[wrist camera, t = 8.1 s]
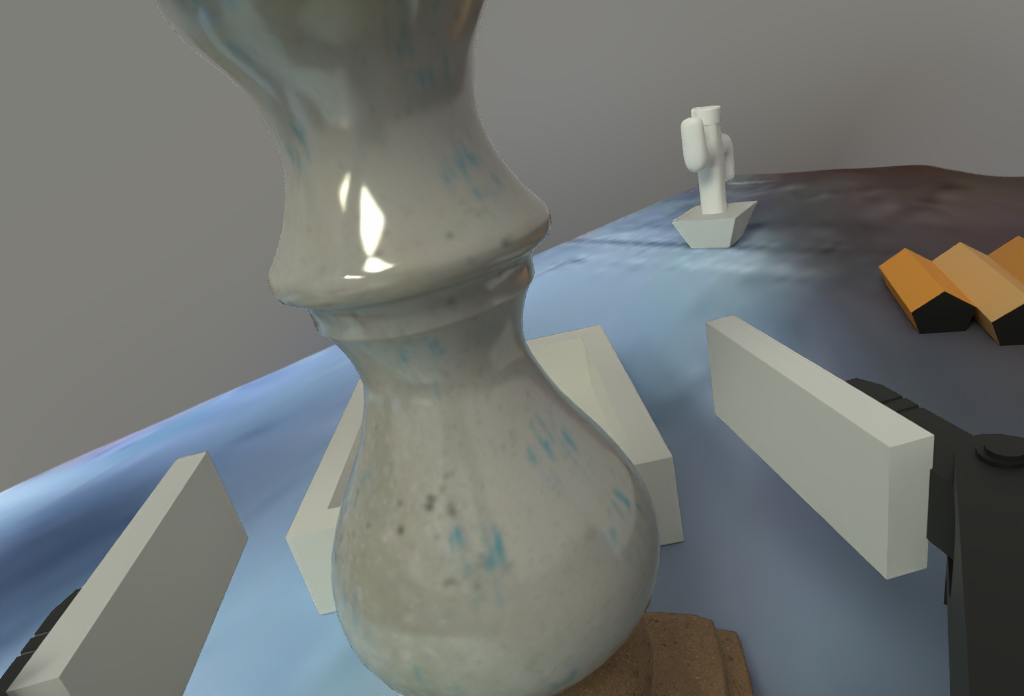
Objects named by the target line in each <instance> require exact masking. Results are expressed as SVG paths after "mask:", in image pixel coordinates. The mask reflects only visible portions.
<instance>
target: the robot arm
mask: <svg viewBox="0 0 1024 696" xmlns="http://www.w3.org/2000/svg"><path fill="white" fill-rule="evenodd" d="M706 331H707V341H708V351H709V361H710V371H711V380H712V390H713V400H714V410H715V414H716V415H717V416H718V417H719V418H720V419H721V420H722V421H723V422H725V423H726V424H727V425H728V426H729V427H730V428H731V429H732V430H733V431H734V432H735V433H736V434H737V435H738V436H739V437H740V438H741V439H742V440H743V441H744V442H745V443H746V444H747V445H748V446H749V447H750V448H751V449H752V450H753V451H754V452H755V453H756V454H758V455H759V456H760V457H761V458H762V459H763V460H764V461H765V462H766V463H767V464H768V465H769V466H770V467H771V468H772V469H773V470H774V471H775V472H776V473H777V474H778V475H779V476H780V477H781V478H782V479H783V480H784V481H785V482H786V483H787V484H788V485H790V486H791V487H792V488H793V489H794V490H795V491H796V492H797V493H798V494H799V495H800V496H801V497H802V498H803V499H804V500H805V501H806V502H807V503H808V504H809V505H810V506H811V507H812V508H813V509H814V510H815V511H816V512H817V513H818V514H819V515H820V516H822V517H823V518H824V519H825V520H826V521H827V522H828V523H829V524H830V525H831V526H832V527H833V528H834V529H835V530H836V531H837V532H838V533H839V534H840V535H841V536H842V537H843V538H844V539H845V540H846V541H847V542H848V543H849V544H850V545H851V546H852V547H854V548H855V549H856V550H857V551H858V552H859V553H860V554H861V555H862V556H863V557H864V558H865V559H866V560H867V561H868V562H869V563H870V564H871V565H872V566H873V567H874V568H875V569H876V570H877V571H878V572H879V573H880V574H881V575H882V576H883V577H884V578H885V579H891V578H894V577H898V576H901V575H905V574H908V573H911V572H915V571H918V570H922V569H925V568H927V558H928V540H929V541H930V542H932V543H933V544H934V545H935V546H937V547H938V548H939V549H940V550H942V551H943V552H944V553H945V554H946V555H947V567H946V581H945V595H944V604H945V605H947V609H948V638H949V667H950V696H1024V438H1021V437H1015V436H1009V435H1003V434H980V435H975V436H973V435H971V434H969V433H967V432H965V431H964V430H962V429H960V428H958V427H956V426H955V425H953V424H951V423H949V422H948V421H946V420H944V419H942V418H940V417H939V416H937V415H935V414H933V413H931V412H930V411H928V410H926V409H924V408H919V407H918V405H917V404H915V403H913V402H912V401H910V400H908V399H906V398H905V399H903V398H902V396H901V395H899V394H897V393H896V392H894V391H892V390H890V389H888V388H887V387H885V386H883V385H880V384H876V383H873V382H869V381H865V380H862V379H858V378H855V379H851V380H848V381H843V380H841V379H840V378H838V377H836V376H835V375H833V374H831V373H830V372H828V371H826V370H825V369H823V368H821V367H820V366H818V365H816V364H815V363H813V362H811V361H810V360H808V359H806V358H805V357H803V356H801V355H800V354H798V353H796V352H794V351H793V350H791V349H789V348H788V347H786V346H784V345H783V344H781V343H779V342H778V341H776V340H774V339H773V338H771V337H769V336H768V335H766V334H764V333H763V332H761V331H759V330H758V329H756V328H754V327H753V326H751V325H749V324H748V323H746V322H744V321H743V320H741V319H739V318H738V317H736V316H734V315H731V316H727V317H723V318H719V319H715V320H711V321H708V322H706ZM247 540H248V536H247V534H246V532H245V530H244V528H243V526H242V524H241V522H240V519H239V517H238V515H237V513H236V511H235V509H234V507H233V505H232V502H231V500H230V498H229V496H228V494H227V492H226V490H225V488H224V485H223V483H222V481H221V479H220V477H219V475H218V473H217V471H216V468H215V466H214V464H213V462H212V460H211V458H210V456H209V454H208V451H205V452H202V453H198V454H194V455H190V456H186V457H182V458H178V459H176V461H175V462H174V463H173V465H172V466H171V467H170V469H169V470H168V471H167V473H166V474H165V476H164V477H163V478H162V480H161V481H160V482H159V484H158V485H157V486H156V488H155V489H154V491H153V492H152V493H151V495H150V496H149V497H148V499H147V500H146V501H145V503H144V504H143V506H142V507H141V508H140V510H139V511H138V512H137V514H136V515H135V516H134V518H133V519H132V521H131V522H130V523H129V525H128V526H127V527H126V529H125V530H124V531H123V533H122V534H121V536H120V537H119V538H118V540H117V541H116V542H115V544H114V545H113V546H112V548H111V549H110V551H109V552H108V553H107V555H106V556H105V557H104V559H103V560H102V561H101V563H100V564H99V566H98V567H97V568H96V570H95V571H94V572H93V574H92V575H91V576H90V578H89V579H88V581H87V582H86V583H85V585H84V586H83V587H82V588H80V589H77V590H75V591H74V592H73V593H72V594H71V595H70V596H69V597H68V598H66V599H65V600H64V601H63V602H62V603H61V604H60V605H58V606H57V607H56V608H55V609H54V610H53V611H52V612H51V613H50V614H49V616H48V617H47V618H46V620H45V621H44V622H43V624H42V625H41V626H40V627H39V629H38V630H37V631H36V633H35V637H34V638H31V639H30V641H29V642H28V643H27V645H26V646H25V647H24V648H23V650H22V651H21V656H19V657H17V658H16V659H15V660H14V662H13V663H12V664H11V666H10V667H9V668H8V670H7V671H6V672H5V673H4V675H3V676H2V677H1V679H0V696H183V693H184V691H185V689H186V686H187V684H188V682H189V679H190V677H191V674H192V672H193V670H194V667H195V665H196V662H197V660H198V658H199V655H200V653H201V650H202V648H203V646H204V643H205V641H206V638H207V636H208V634H209V631H210V629H211V626H212V624H213V622H214V619H215V617H216V614H217V612H218V610H219V607H220V605H221V603H222V600H223V598H224V595H225V593H226V591H227V588H228V586H229V583H230V581H231V579H232V576H233V574H234V571H235V569H236V567H237V564H238V562H239V559H240V557H241V555H242V552H243V550H244V547H245V545H246V543H247Z"/></svg>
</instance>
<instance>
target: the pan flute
mask: <svg viewBox="0 0 1024 696" xmlns="http://www.w3.org/2000/svg"><path fill="white" fill-rule="evenodd" d="M879 268H880V271H881V274H882V276H883V279H884V281H885V284H886V286H887V287H888V289H889V290H890V291H891V293H892V294H893V296H894V297H895V299H896V300H897V302H898V303H899V305H900V306H901V308H902V309H903V310H904V312H905V313H906V315H907V316H908V318H909V319H910V321H911V322H912V324H913V325H914V327H915V328H916V329H917V331H918V332H919V334H926V333H941V332H957V331H966V329H967V327H968V325H969V323H970V321H971V319H972V317H974V319H975V320H976V321H977V322H978V323H979V324H980V325H981V326H982V327H983V328H984V329H985V330H986V331H987V332H988V334H989V335H990V336H991V337H992V338H993V339H994V340H995V341H996V342H997V343H998V344H999V345H1000V346H1006V345H1023V344H1024V238H1022V237H1020V236H1017V237H1016V238H1014V239H1013V240H1011V241H1009V242H1008V243H1006V244H1005V245H1003V246H1002V247H1000V248H999V249H997V250H995V251H994V252H992V253H991V254H989V255H988V256H987V255H985V254H983V253H981V252H979V251H977V250H975V249H973V248H971V247H969V246H967V245H965V244H963V243H961V242H960V243H958V244H957V245H955V246H954V247H952V248H951V249H949V250H948V251H946V252H945V253H943V254H942V255H940V256H939V257H937V258H936V259H934V260H933V261H930V260H928V259H926V258H924V257H922V256H920V255H918V254H916V253H914V252H912V251H910V250H908V249H906V248H905V249H903V250H902V251H900V252H899V253H898V254H896V255H895V256H893V257H892V258H890V259H889V260H888V261H886V262H885V263H883V264H882V265H880V266H879Z"/></svg>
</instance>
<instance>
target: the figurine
mask: <svg viewBox="0 0 1024 696" xmlns="http://www.w3.org/2000/svg"><path fill="white" fill-rule="evenodd" d="M691 115H692V117H691V118H688V119H685V120H684V121H683V122H682V124H681V136H682V144H683V155H684V161H685V164H686V166H687V168H688V169H689V170H690V171H692V172H698V178H699V188H700V199H701V205H700V206H695V207H694V208H692V209H690V210H689V211H687V212H686V213H684V214H683V215H681V216H680V217H678V218H676V219H675V220H673V221H672V224H673V225H674V226H675V227H676V229H677V230H678V231H679V233H680V234H681V235H682V237H683V238H684V239H685V241H686V242H687V243H688V244H689V246H690V247H691V248H692V249H704V248H730V247H731V246H732V245H733V244H734V243H735V242H737V241H738V240H739V239H740V238H741V237H742V236H743V234H744V232H745V229H746V227H747V225H748V222H749V220H750V217H751V215H752V213H753V210H754V208H755V206H756V203H757V201H751V202H738V203H726V191H725V182H726V181H730V180H732V179H733V178H734V176H735V170H734V156H733V146H732V141H731V139H730V137H729V136H728V135H726V134H721V129H720V122H721V107H720V106H707V107H702V108H701V107H697V108H694V109H692V110H691Z"/></svg>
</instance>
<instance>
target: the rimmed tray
mask: <svg viewBox="0 0 1024 696" xmlns="http://www.w3.org/2000/svg"><path fill="white" fill-rule="evenodd" d="M526 343H527V345H528V347H529V349H530V351H531V352H532V354H533V356H534V357H535V358H536V360H537V361H538V363H539V364H540V365H541V367H542V368H543V369H544V371H545V372H546V373H547V375H548V376H549V377H550V378H551V379H552V381H553V382H554V383H555V384H556V385H557V386H558V387H559V388H560V389H561V391H562V392H563V393H564V394H565V395H567V396H568V397H569V398H570V399H571V400H572V401H573V402H574V403H575V404H576V405H577V406H578V407H579V408H581V409H582V410H583V411H584V412H585V413H586V414H587V415H588V416H590V417H591V418H592V419H593V420H594V421H595V422H596V423H597V424H598V425H599V426H600V427H601V428H602V429H603V430H604V431H606V432H607V433H608V434H609V435H610V436H611V437H612V438H613V440H614V441H615V442H616V443H617V444H618V445H619V447H620V448H621V449H622V450H623V451H624V453H625V454H626V455H627V456H628V458H629V459H630V460H631V462H632V463H633V464H634V466H635V468H636V469H637V471H638V473H639V474H640V476H641V478H642V479H643V481H644V483H645V485H646V488H647V490H648V492H649V495H650V497H651V500H652V503H653V506H654V509H655V512H656V515H657V521H658V527H659V534H660V546H662V545H667V544H672V543H677V542H682V541H684V536H683V529H682V522H681V514H680V507H679V500H678V492H677V485H676V477H675V470H674V463H673V456H672V455H671V453H670V451H669V449H668V447H667V446H666V444H665V442H664V440H663V438H662V436H661V435H660V433H659V431H658V429H657V427H656V425H655V424H654V422H653V420H652V418H651V416H650V415H649V413H648V411H647V409H646V407H645V405H644V404H643V402H642V400H641V398H640V396H639V394H638V393H637V391H636V389H635V387H634V385H633V384H632V382H631V380H630V378H629V376H628V374H627V373H626V371H625V369H624V367H623V365H622V363H621V362H620V360H619V358H618V356H617V354H616V353H615V351H614V349H613V347H612V345H611V343H610V342H609V340H608V338H607V336H606V334H605V332H604V331H603V329H602V327H601V325H596V326H592V327H587V328H582V329H578V330H573V331H569V332H564V333H559V334H555V335H550V336H546V337H541V338H537V339H532V340H527V341H526ZM363 410H364V391H363V383H362V380H361V378H360V379H359V381H358V384H357V386H356V388H355V390H354V392H353V394H352V396H351V398H350V401H349V403H348V405H347V407H346V409H345V411H344V413H343V416H342V418H341V420H340V422H339V424H338V426H337V428H336V431H335V433H334V435H333V437H332V439H331V441H330V443H329V446H328V448H327V450H326V452H325V454H324V456H323V458H322V460H321V463H320V465H319V467H318V469H317V471H316V473H315V475H314V478H313V480H312V482H311V484H310V486H309V488H308V490H307V493H306V495H305V497H304V499H303V501H302V503H301V505H300V508H299V510H298V512H297V514H296V516H295V518H294V520H293V522H292V525H291V527H290V529H289V531H288V533H287V535H286V537H285V538H286V540H287V542H288V545H289V547H290V549H291V552H292V554H293V556H294V558H295V561H296V563H297V565H298V567H299V570H300V572H301V574H302V576H303V579H304V581H305V583H306V585H307V588H308V590H309V592H310V594H311V597H312V599H313V601H314V604H315V606H316V608H317V610H318V613H319V615H322V614H327V613H332V612H336V607H335V603H334V598H333V590H332V581H331V556H332V548H333V541H334V535H335V529H336V523H337V518H338V515H339V511H340V507H341V504H342V500H343V496H344V493H345V490H346V487H347V484H348V481H349V477H350V474H351V471H352V467H353V464H354V461H355V457H356V454H357V450H358V445H359V440H360V435H361V429H362V421H363Z"/></svg>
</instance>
